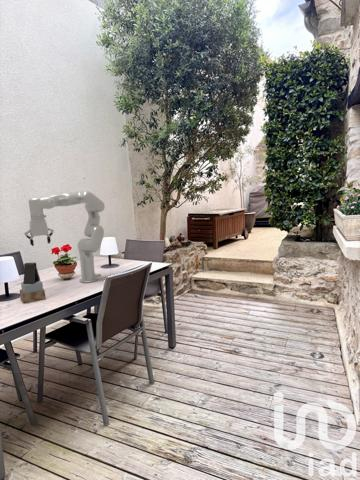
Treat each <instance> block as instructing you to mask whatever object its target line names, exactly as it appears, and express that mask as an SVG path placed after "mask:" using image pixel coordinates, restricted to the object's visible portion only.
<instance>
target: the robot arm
mask: <svg viewBox="0 0 360 480" xmlns="http://www.w3.org/2000/svg"><path fill="white" fill-rule="evenodd" d="M80 204H84V209H85V210H86V212H87V215H88V217H87V218H88V219H87V222H86V224H85V228H84V231H83V235H84V236H85V237H87V238H80V239H79V241H77V250H78V254H79V261H80V263H79V265H80V274H81V276H80V277H81V278H80V279H79V282H80V283H84V284H89V283H93V282H96V281H98V278H99V277H102V274H101V273H95V261H94V260H95V259H94V253H96V252H98V251H99V249H100V248H101V245H102V241H103V239H104V236H105V229H104V227H103V226H101V225H100V222H101V215H100V213H101V212H103V211H104V210H105V207H106V206H105V202H104V201H103V200H102V199H100V198H99V197H98V196H96V195H95V194H94V193H92V192H91V191H88V190H84V191H83V190H82V191H74V192H65V193H61V194H56V195H55V194H54V195H48V196H41V197H33V198H29V199H28V206H29V214H30V215H29V216H30V220H29V229H28V230H27V231H26V232H24V236H25V237H26V238H28V239H29V243H30V245H31V246H32V247H34V245H35V244H34V239H33V238H34V237H38V236H39V237H40V236H47V237H46V241H47V244H51V237H52V235H53V234H54V232H55V231H54V229H52V228H50V227H49V228H48V225H47V224H48V223H47V220H46V219H45V218H47V215H45V214H44V210H50V209H54V208H55V207H69V206H75V205H80ZM49 231H50V233H49ZM28 234H29V235H28Z"/></svg>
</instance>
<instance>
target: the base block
mask: <svg viewBox="0 0 360 480" xmlns="http://www.w3.org/2000/svg"><path fill="white" fill-rule="evenodd" d="M19 296H20V297H19V298H20V301H22V304H29V303H35V302H38V301H45V300H46V291H45V289H44V288H43V290H42V291H37V292H32V293H27V294H25V293H24V292H23V291H22V288H20V289H19Z"/></svg>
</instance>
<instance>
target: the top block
mask: <svg viewBox="0 0 360 480" xmlns="http://www.w3.org/2000/svg"><path fill="white" fill-rule="evenodd" d="M20 285H21V289H22V291H23V292H24V293H25V294H27V293H32V292H37V291H42V290H43V289H44V285H43V281H41V279H40V280H39V281H38V282H36V283H34V284H23V281H21V282H20Z"/></svg>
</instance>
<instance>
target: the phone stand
mask: <svg viewBox="0 0 360 480" xmlns="http://www.w3.org/2000/svg"><path fill="white" fill-rule="evenodd" d="M23 267H24V268H23V269H24V271H23V281H22V282H23V284H34V283H36V282H38V281H39V280H40V281H41V278H40V275H39V271H38V266H37V262H24V265H23Z"/></svg>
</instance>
